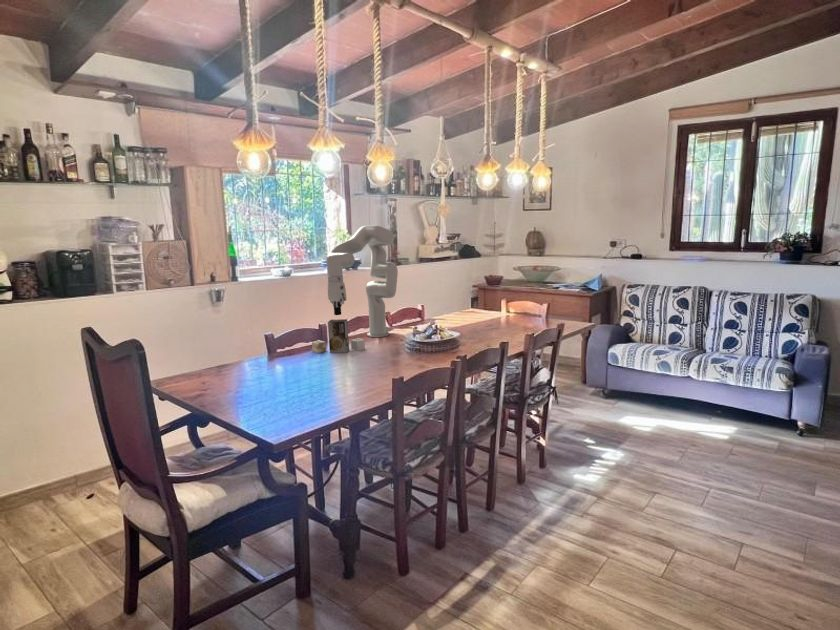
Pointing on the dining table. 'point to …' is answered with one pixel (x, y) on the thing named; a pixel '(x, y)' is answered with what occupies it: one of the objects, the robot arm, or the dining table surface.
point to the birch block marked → (318, 346)
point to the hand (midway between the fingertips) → (337, 314)
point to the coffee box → (338, 335)
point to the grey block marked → (357, 344)
